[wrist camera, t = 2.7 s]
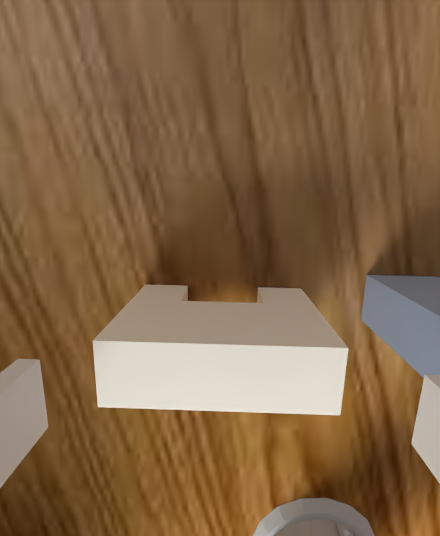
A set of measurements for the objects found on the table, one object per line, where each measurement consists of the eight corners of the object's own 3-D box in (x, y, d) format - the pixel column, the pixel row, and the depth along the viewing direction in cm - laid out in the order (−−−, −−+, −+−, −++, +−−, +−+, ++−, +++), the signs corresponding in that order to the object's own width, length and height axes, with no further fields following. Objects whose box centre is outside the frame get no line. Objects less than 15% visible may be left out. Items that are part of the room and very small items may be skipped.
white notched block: (146, 327, 21) (97, 407, 13) (145, 284, 20) (92, 340, 12) (297, 332, 21) (340, 415, 13) (301, 288, 20) (348, 348, 12)
